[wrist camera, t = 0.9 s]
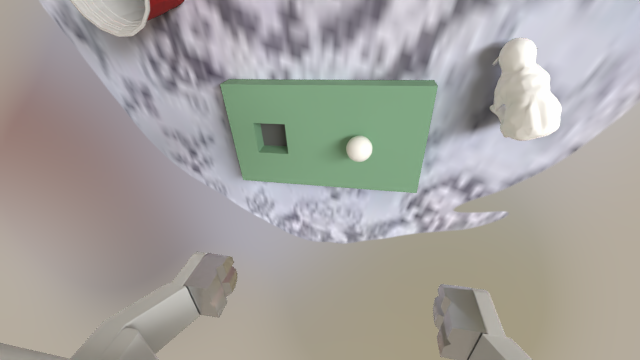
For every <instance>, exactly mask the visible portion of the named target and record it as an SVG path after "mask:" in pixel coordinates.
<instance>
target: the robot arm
mask: <svg viewBox="0 0 640 360" xmlns="http://www.w3.org/2000/svg"><path fill="white" fill-rule="evenodd" d="M233 263H234V261H233V258H232V257H230V256H224V255H218V254H211V253H204V252H196V253H194V254H193V255H192V256H191V258H190V259H189V260H188V262H187V263H186V264H185V266H184V267H183V268H182V270H181V271H180V272H179V274H178V275H177V276H176V277H175V279H174V280H173V281H172V283H171V284H169V283H167V284H165V285H164V286H162V287H160V288H159V289H157V290H155V291H154V292H152V293H150V294H149V295H147V296H145V297H143V298H142V299H140V300H139V301H137V302H135V303H133V304H132V305H130V306H129V307H127V308H125V309H123V310H122V311H120V312H118V313H117V314H115V315H113V316H112V317H110V318H108V319H106V320H105V321H103V322H102V323H101V324H100V326H99V327H98V328H97V329H96V330H95V331H94V333H92V335H91V336H90V337H89V338H88V339H87V340H86V341H85V343H84V344H83V345H82V346H81V347H80V348H79V349H78V350H77V352H76V353H75V354H74V355H73V356H72V357H71V358H70V359H68V358H64V357H60V356H55V355H51V354H47V353H42V352H38V351H33V350H29V349H25V348H20V347H16V346H12V345H7V344H3V343H0V360H159V359H158V358H157V356H156V355H155V354H156V353H157V352H158V351H159V350H160V349H162V348H163V347H164V346H165V345H166V344H167V343H169V342H170V341H171V340H172V339H173V338H174V337H176V336H177V335H178V334H179V333H180V332H181V331H183V330H184V329H185V328H186V327H187V326H188V325H190V324H191V323H192V322H193V321H194V320H196V319H197V318H198V317H199V316H200V315H206V316H212V317H220V315H221V313H222V311H223V309H224V308H225V306H226V304H227V298H226V297H227V296H228V295H229V294H231V293H232V292H233V290H234V288H235V286H236V282H237V271H236V269H235V268H234V267H233V266H232V265H233ZM438 294H439V296H438V297H436V298H435V301H434V307H433V316H434V323H435V325H436V327H437V328H438V329H439V332H438V335H437V341H438V347H439V352H440V357H444V358H449V359H454V360H532V359H531V358H530V357H529V356H528V355H527V354H526V353H525V352H524V351H523V350H522V349H521V348H520V347H519V346H518V345H517V344H516V343H515V342H514V341H513V340H512V339H511V338H507V337H506V336H505V333H504V330H503V328H502V325H501V323H500V320H499V318H498V315H497V312H496V310H495V307H494V304H493V302H492V299H491V296H490V294H489V292H488V291H487V290H482V289H474V288H468V287H461V286H452V285H444V284H441V285H440V286H439V288H438Z"/></svg>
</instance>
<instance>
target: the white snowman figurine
mask: <svg viewBox="0 0 640 360" xmlns="http://www.w3.org/2000/svg"><path fill="white" fill-rule="evenodd" d="M536 49H538V48H536V46H535V44H534V43H533V42H532V41H531V40H529V39H527V38H515V39H512V40H511V41H509V42H508V43H506V44H505V45H504V47H503V48H502V49H501V52H500V54H499V57H498V58H497V59H496V60H495V61H494V62H493V64H494V65H495V64H496V63H497V61H498V60H499V63H498V64H500V67H501V70H502V74H501V76H500V78H499V80H498V82H497V86H496V88H495V91H494V104H493V105H491V106H490V110H491V111H492V112H493V113H495V114H496V115H497V116H498V118H499V121H500V123H501V125H500V130H501V132H502V134H503V136H504V137H510V138H512V139H515V140H519V141H525V140H531V139H535V138H539V137H544V136H547V135H550V134H551V133H553V132H555V131H556V130H557V129H558V128H559V125H560V115H561V111H562V107H561V104H560V103H559V101H558V99H557V98H556V97H555V96H554V95H553V94H552V93H551V92H550V84H549V83H550V76H549V74H548V73H547V72H546V71H545V70H544V69H542V68H541V67H540V66H539V65H538V64H536V62H535V61H536V54H537V51H536ZM494 65H493V66H494ZM496 66H497V65H496ZM503 104H505V106H504V105H503Z"/></svg>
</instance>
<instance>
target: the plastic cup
mask: <svg viewBox="0 0 640 360" xmlns="http://www.w3.org/2000/svg"><path fill="white" fill-rule="evenodd" d="M70 1H71V2H72V3H73V4H74V6H75V7H76V8H77V9H78V10H79V12H80V13H81V14H82V15H83V16H84V17H85V18H86V19H88V20H89V21H90V22H92V23H93V24H94V25H95V26H97V27H98V28H99V29H101V30H103V31H105V32H108V33H110V34H113V35H115V36H118V37H123V36H134V35H135V34H136V33H138V32H139V31H140V30H141V29H143V28H144V27H145V25H146V22H147V21H148V20H150V19H152V18H155V17H157V16H159V15H161V14H163V13H165V12H167V11H168V10H170V9H173V8H175V7H177V6H178V5H180V4H181V3H182V2H183V1H184V0H70Z"/></svg>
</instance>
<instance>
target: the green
mask: <svg viewBox="0 0 640 360" xmlns="http://www.w3.org/2000/svg"><path fill="white" fill-rule="evenodd" d="M220 86H221V90H222V94H223V99H224V103H225V107H226V111H227V115H228V119H229V123H230V127H231V132H232V136H233V140H234V144H235V148H236V152H237V156H238V160H239V164H240V169H241V173H242V177H243V180H251V181H264V182H278V183H291V184H304V185H317V186H331V187H344V188H357V189H370V190H384V191H397V192H410V193H417V188H418V183H419V178H420V173H421V168H422V163H423V158H424V153H425V148H426V143H427V138H428V133H429V127H430V122H431V117H432V112H433V107H434V102H435V97H436V92H437V87H438V86H437V84H436V83H435V81H434V80H265V79H229V80H227V81H225V82H223V83H221V84H220ZM355 136H364V137H366V138H368V139H369V140H370V142H371V144H372V154H371V155H370V157H369V158H368V159H367V160H365V161H362V162H356V161H353V160H352V159H350V158H349V156H348V155H347V151H346V146H347V143H348V142H349V140H350V139H351V138H353V137H355Z"/></svg>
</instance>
